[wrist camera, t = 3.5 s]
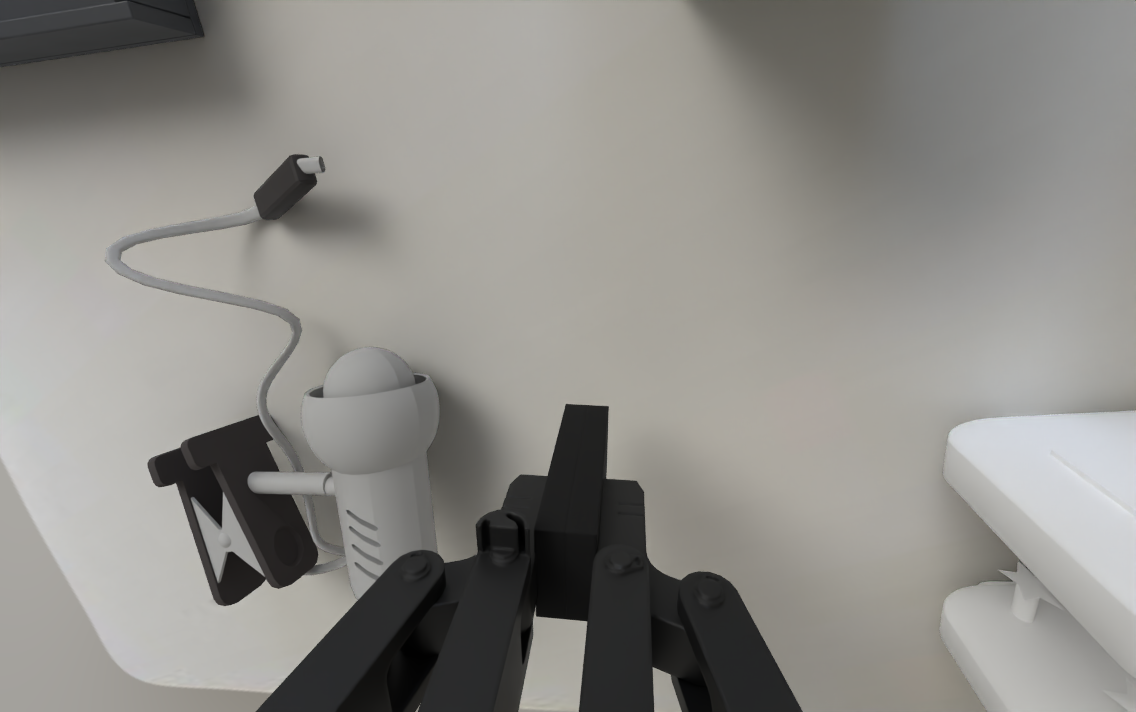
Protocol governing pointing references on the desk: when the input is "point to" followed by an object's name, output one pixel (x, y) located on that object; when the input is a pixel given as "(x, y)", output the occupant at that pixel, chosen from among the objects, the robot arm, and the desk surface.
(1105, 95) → the desk surface
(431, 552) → the robot arm
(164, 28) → the baking pan
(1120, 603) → the cable organizer
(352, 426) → the clip-on lamp
